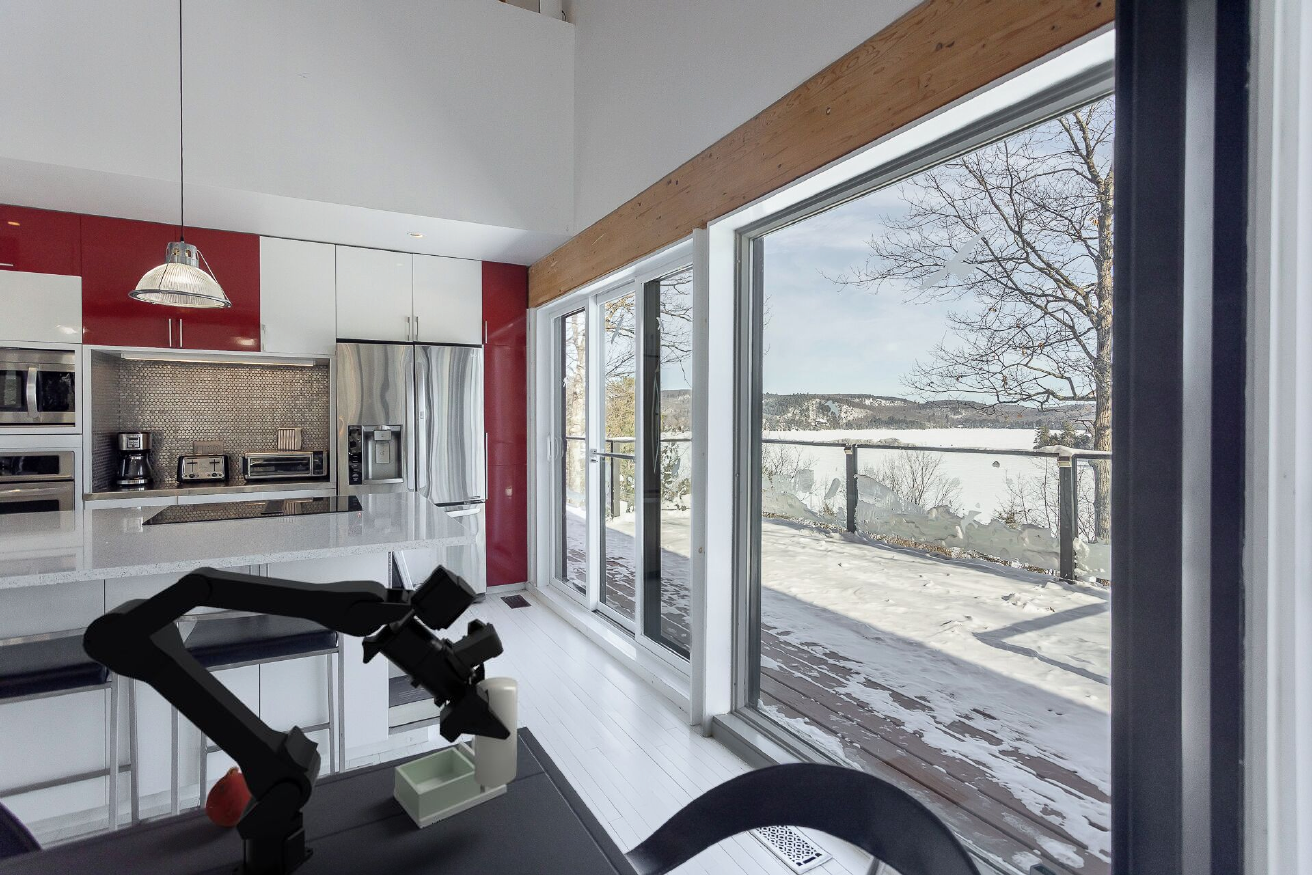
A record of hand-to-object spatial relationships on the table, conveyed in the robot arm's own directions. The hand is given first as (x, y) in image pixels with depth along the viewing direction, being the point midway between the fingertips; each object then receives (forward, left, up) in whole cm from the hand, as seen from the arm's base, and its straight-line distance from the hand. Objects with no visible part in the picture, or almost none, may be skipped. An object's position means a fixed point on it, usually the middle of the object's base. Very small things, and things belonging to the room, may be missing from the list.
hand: (506, 726), depth 88 cm
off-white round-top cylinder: (-1, -1, -7) cm, 7 cm away
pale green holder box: (-11, +3, -13) cm, 18 cm away
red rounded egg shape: (-35, -13, -14) cm, 39 cm away
